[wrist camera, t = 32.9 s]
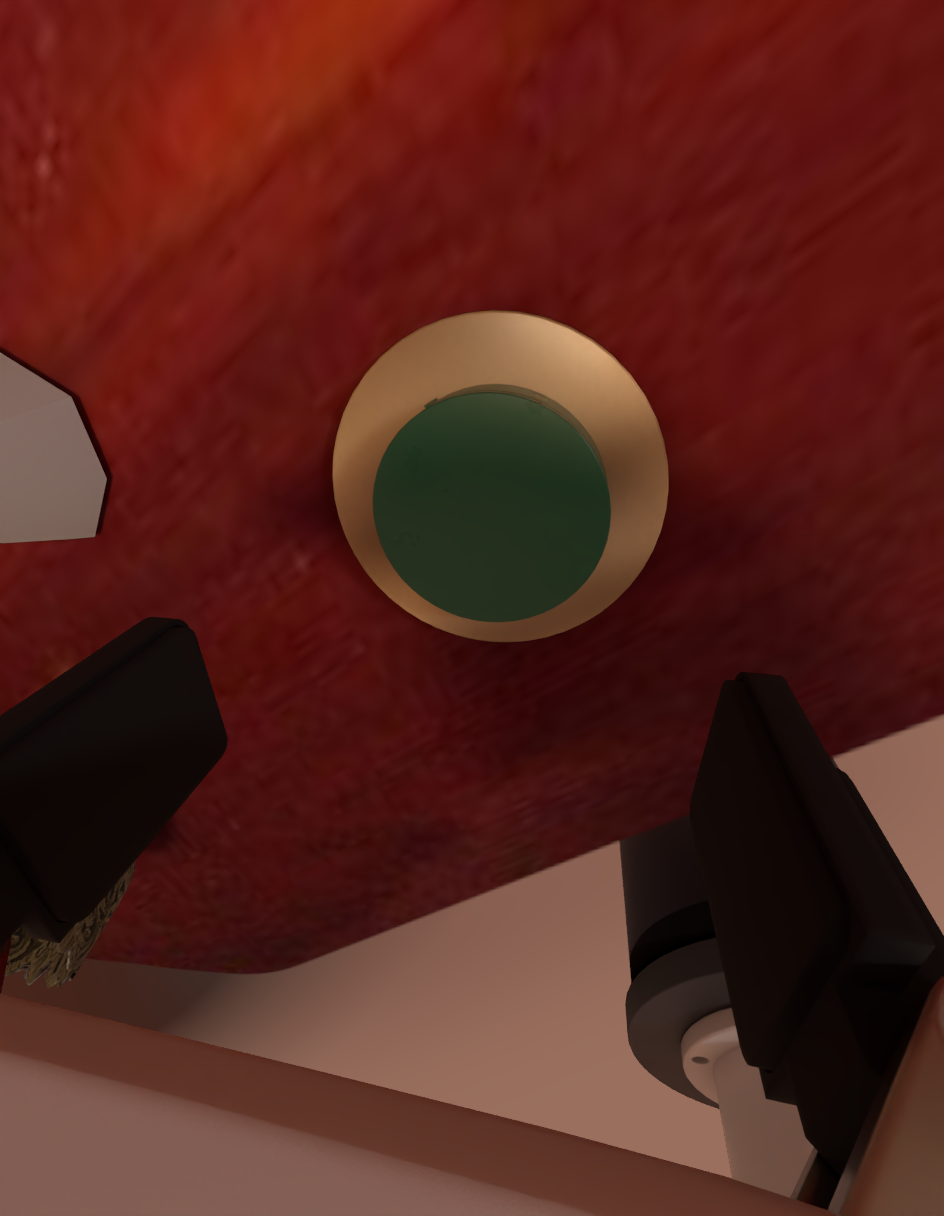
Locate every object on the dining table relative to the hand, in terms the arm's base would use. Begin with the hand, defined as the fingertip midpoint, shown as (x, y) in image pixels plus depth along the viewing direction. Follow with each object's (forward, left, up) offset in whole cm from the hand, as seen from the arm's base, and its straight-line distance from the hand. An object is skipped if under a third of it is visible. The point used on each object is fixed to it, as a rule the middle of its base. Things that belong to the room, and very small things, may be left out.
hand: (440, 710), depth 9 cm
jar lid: (+1, 0, -8) cm, 8 cm away
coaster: (+1, 0, -10) cm, 10 cm away
